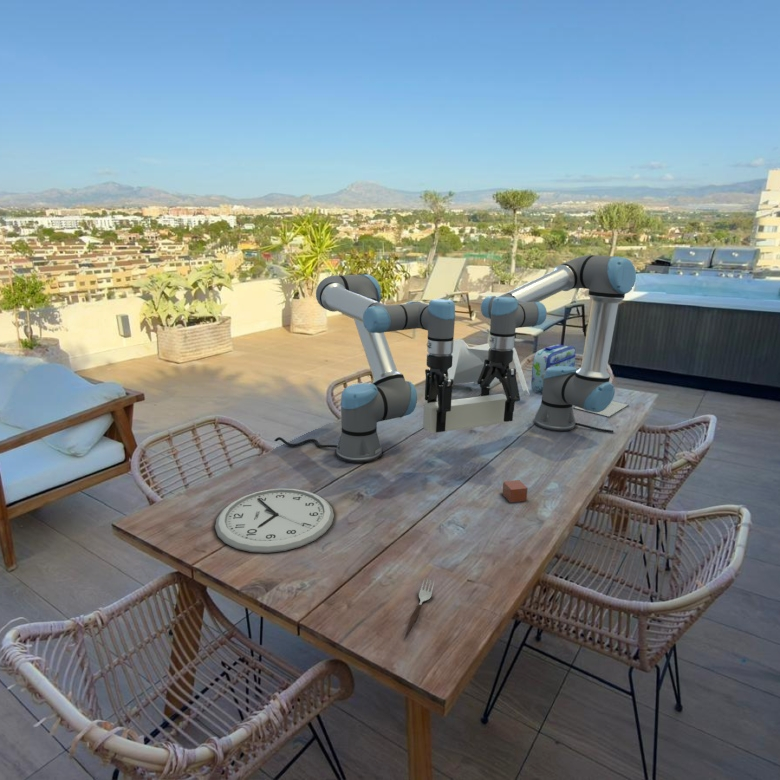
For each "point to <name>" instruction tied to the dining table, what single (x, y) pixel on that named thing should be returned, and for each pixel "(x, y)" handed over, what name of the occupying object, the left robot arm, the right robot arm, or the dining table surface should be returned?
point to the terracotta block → (514, 491)
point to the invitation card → (609, 408)
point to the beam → (467, 413)
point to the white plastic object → (475, 363)
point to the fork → (423, 597)
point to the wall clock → (274, 520)
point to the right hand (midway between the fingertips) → (495, 413)
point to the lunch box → (550, 362)
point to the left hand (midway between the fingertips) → (436, 427)
